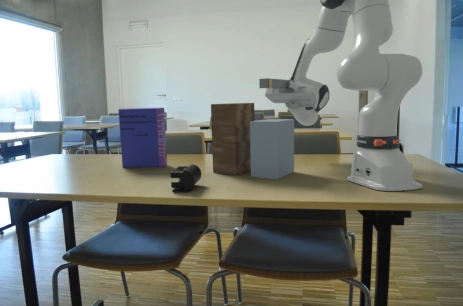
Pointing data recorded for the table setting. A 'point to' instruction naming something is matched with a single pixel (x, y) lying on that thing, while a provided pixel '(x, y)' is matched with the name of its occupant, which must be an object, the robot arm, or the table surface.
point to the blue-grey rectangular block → (272, 148)
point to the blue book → (143, 137)
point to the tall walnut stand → (231, 137)
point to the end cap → (185, 177)
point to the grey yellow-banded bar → (274, 83)
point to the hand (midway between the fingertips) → (284, 83)
